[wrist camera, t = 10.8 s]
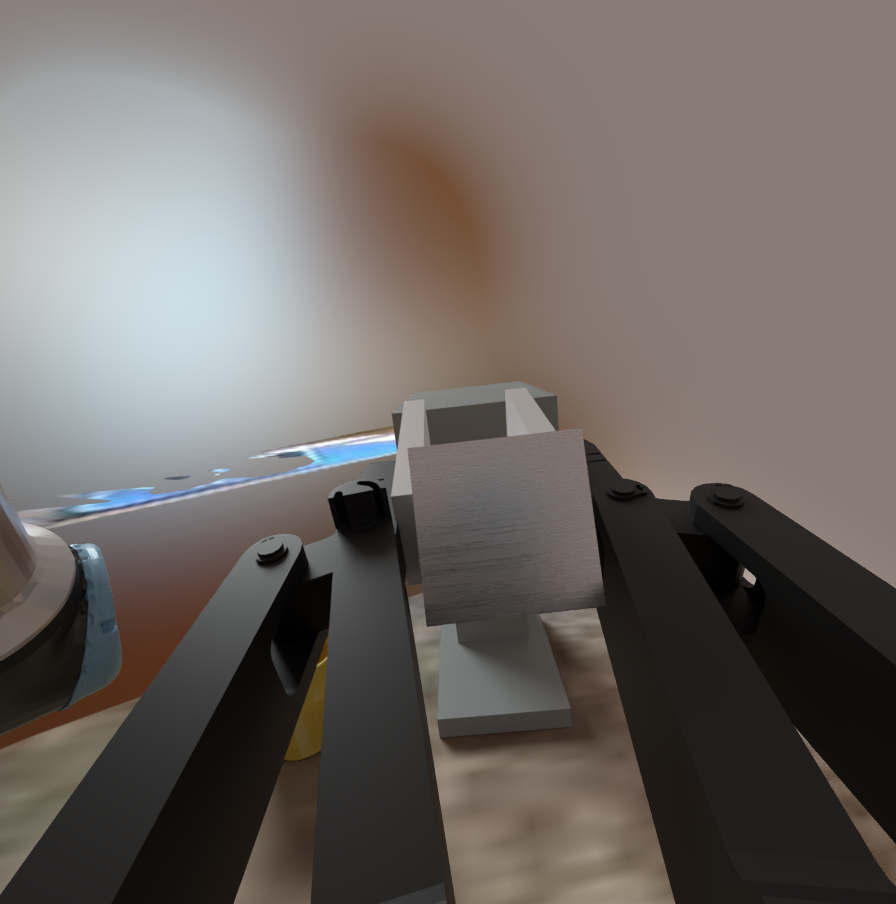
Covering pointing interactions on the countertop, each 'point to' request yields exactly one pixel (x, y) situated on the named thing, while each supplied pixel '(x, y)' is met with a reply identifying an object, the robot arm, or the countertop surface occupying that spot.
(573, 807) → the countertop surface
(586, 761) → the countertop surface
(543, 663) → the press stand
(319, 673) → the plant pot
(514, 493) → the metal block
